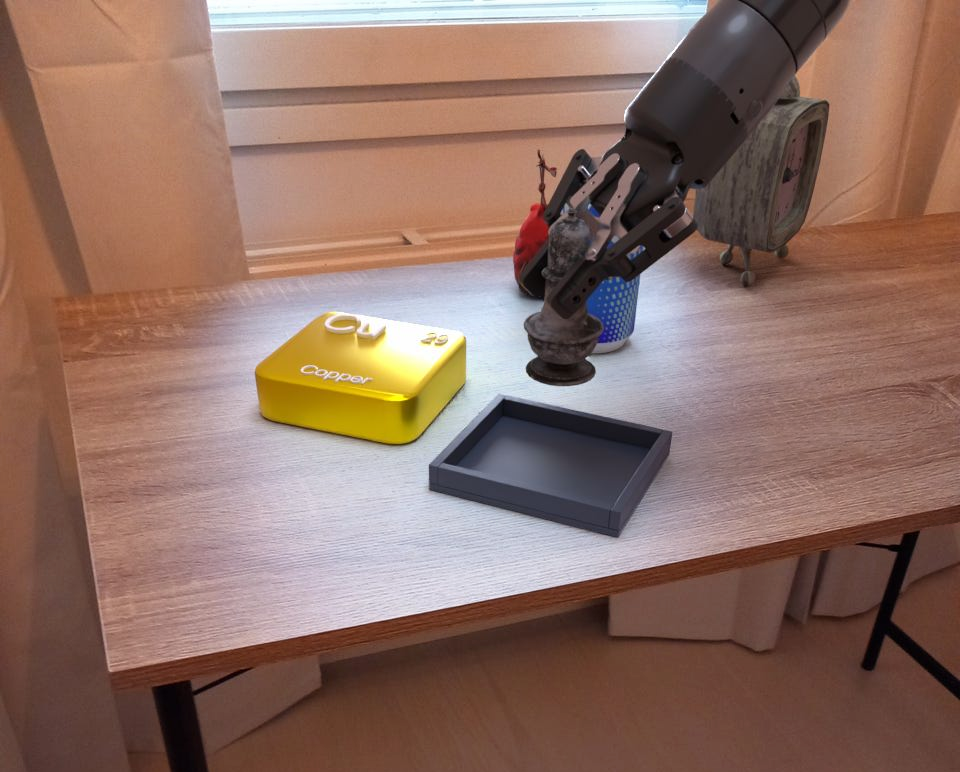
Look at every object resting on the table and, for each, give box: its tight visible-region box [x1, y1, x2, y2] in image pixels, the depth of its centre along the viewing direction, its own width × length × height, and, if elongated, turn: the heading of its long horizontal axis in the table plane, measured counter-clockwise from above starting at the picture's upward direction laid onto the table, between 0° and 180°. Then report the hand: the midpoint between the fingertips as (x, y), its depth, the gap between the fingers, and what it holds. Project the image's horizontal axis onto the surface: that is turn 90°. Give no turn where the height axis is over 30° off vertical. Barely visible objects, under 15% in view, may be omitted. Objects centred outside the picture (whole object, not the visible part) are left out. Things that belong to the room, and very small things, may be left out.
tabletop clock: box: [692, 74, 830, 287], centre depth 111 cm, size 14×9×25 cm, turn 147°
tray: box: [428, 393, 674, 538], centre depth 82 cm, size 16×14×2 cm
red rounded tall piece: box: [512, 149, 558, 299], centre depth 108 cm, size 8×7×15 cm
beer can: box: [561, 201, 645, 354], centre depth 97 cm, size 8×8×16 cm
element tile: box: [254, 311, 467, 445], centre depth 91 cm, size 15×15×5 cm
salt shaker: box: [523, 205, 604, 387], centre depth 73 cm, size 6×6×12 cm
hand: (542, 299), depth 73 cm, fingers closed on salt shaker, 3 cm apart
